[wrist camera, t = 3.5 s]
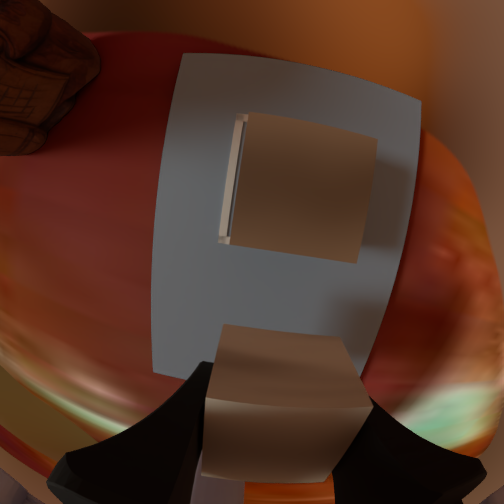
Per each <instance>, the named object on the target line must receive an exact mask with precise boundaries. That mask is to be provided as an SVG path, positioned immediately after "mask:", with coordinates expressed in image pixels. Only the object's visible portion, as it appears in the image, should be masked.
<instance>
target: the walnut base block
mask: <svg viewBox="0 0 504 504" xmlns="http://www.w3.org/2000/svg"><path fill="white" fill-rule="evenodd" d="M377 144H378V139H376V138H373V137H369V136H366V135H362V134H359V133H355V132H351V131H348V130H344V129H340V128H336V127H331V126H327V125H323V124H318V123H314V122H309V121H304V120H299V119H293V118H288V117H282V116H276V115H270V114H263V113H255V112H249V115H248V121H247V127H246V133H245V139H244V146H243V152H242V159H241V165H240V172H239V179H238V185H237V192H236V199H235V206H234V213H233V220H232V228H231V235H230V243H229V245H235V246H242V247H249V248H255V249H262V250H269V251H275V252H282V253H289V254H295V255H302V256H308V257H315V258H321V259H328V260H334V261H341V262H347V263H354V264H357V260H358V255H359V251H360V247H361V242H362V237H363V232H364V228H365V223H366V217H367V212H368V206H369V201H370V195H371V189H372V182H373V175H374V168H375V161H376V152H377Z"/></svg>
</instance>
